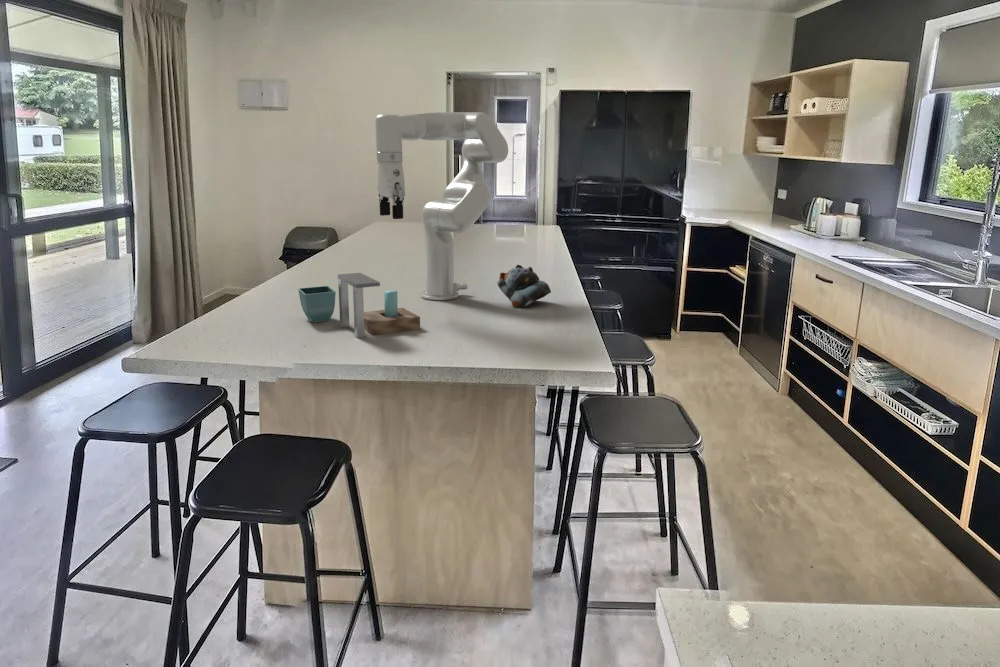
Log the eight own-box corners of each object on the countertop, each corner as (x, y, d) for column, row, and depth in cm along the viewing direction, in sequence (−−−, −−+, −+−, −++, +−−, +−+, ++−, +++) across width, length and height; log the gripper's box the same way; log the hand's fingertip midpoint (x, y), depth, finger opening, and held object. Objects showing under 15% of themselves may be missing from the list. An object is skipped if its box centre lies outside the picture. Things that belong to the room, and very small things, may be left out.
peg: (395, 324, 202) (394, 289, 200) (400, 327, 199) (399, 292, 197) (383, 325, 201) (382, 291, 198) (387, 328, 198) (387, 293, 195)
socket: (403, 319, 208) (402, 307, 207) (420, 329, 198) (419, 316, 197) (356, 324, 201) (356, 312, 200) (372, 335, 191) (371, 322, 190)
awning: (361, 322, 203) (360, 272, 199) (381, 335, 191) (379, 282, 187) (339, 325, 200) (337, 274, 196) (357, 338, 188) (356, 284, 184)
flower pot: (306, 325, 200) (304, 294, 197) (299, 318, 207) (297, 288, 205) (337, 322, 204) (336, 291, 201) (329, 315, 211) (328, 285, 209)
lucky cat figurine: (517, 310, 222) (499, 269, 222) (505, 316, 233) (488, 277, 233) (557, 292, 227) (540, 252, 227) (543, 300, 238) (526, 261, 238)
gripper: (413, 159, 204) (415, 219, 209) (390, 157, 218) (391, 213, 223) (389, 159, 200) (391, 220, 205) (366, 157, 215) (369, 214, 219)
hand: (391, 217), depth 214 cm, fingers open, 9 cm apart
